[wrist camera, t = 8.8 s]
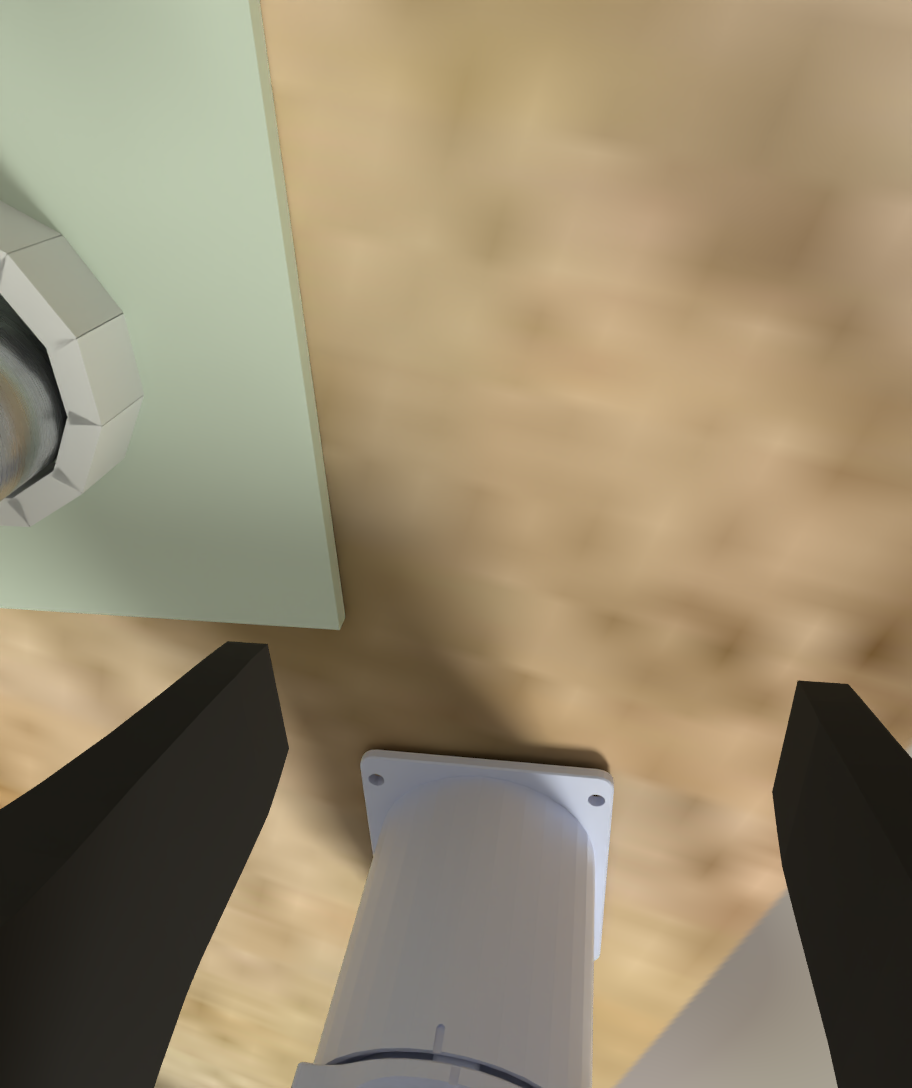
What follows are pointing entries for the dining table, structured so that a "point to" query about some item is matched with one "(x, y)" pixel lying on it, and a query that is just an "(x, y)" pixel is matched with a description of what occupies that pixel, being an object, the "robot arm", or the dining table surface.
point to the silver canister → (26, 404)
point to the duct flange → (159, 320)
